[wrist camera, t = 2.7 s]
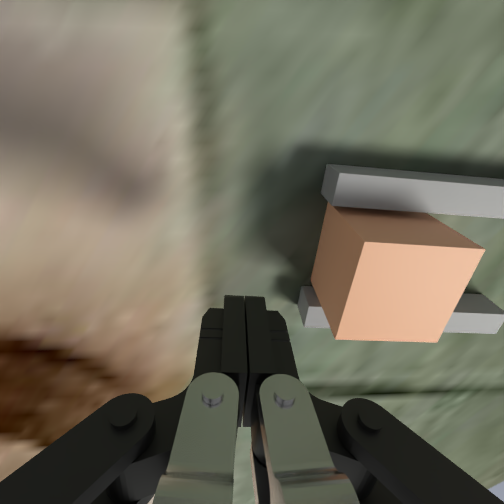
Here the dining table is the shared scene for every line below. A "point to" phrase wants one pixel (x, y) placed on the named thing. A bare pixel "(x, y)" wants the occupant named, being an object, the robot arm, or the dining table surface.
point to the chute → (415, 200)
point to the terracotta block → (390, 273)
